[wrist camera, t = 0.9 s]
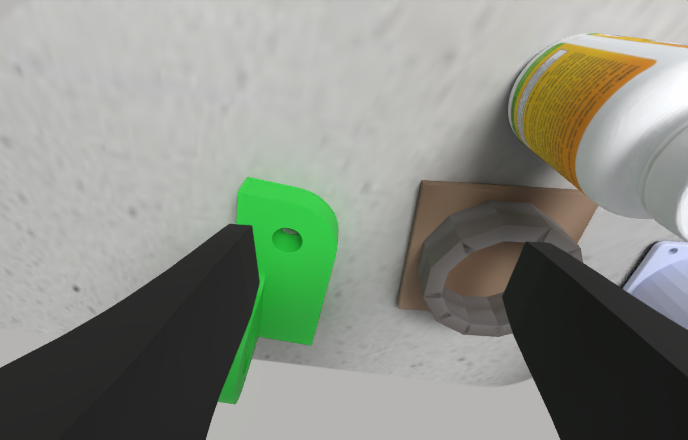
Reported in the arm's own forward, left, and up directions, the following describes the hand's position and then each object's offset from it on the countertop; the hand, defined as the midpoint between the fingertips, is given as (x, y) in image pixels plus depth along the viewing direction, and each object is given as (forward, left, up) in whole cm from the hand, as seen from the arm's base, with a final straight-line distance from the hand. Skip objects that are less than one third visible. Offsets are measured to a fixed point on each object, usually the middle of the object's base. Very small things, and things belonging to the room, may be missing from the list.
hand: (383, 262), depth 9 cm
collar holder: (-8, +7, -10) cm, 15 cm away
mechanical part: (+5, +9, -11) cm, 15 cm away
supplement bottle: (-9, -3, -11) cm, 14 cm away
